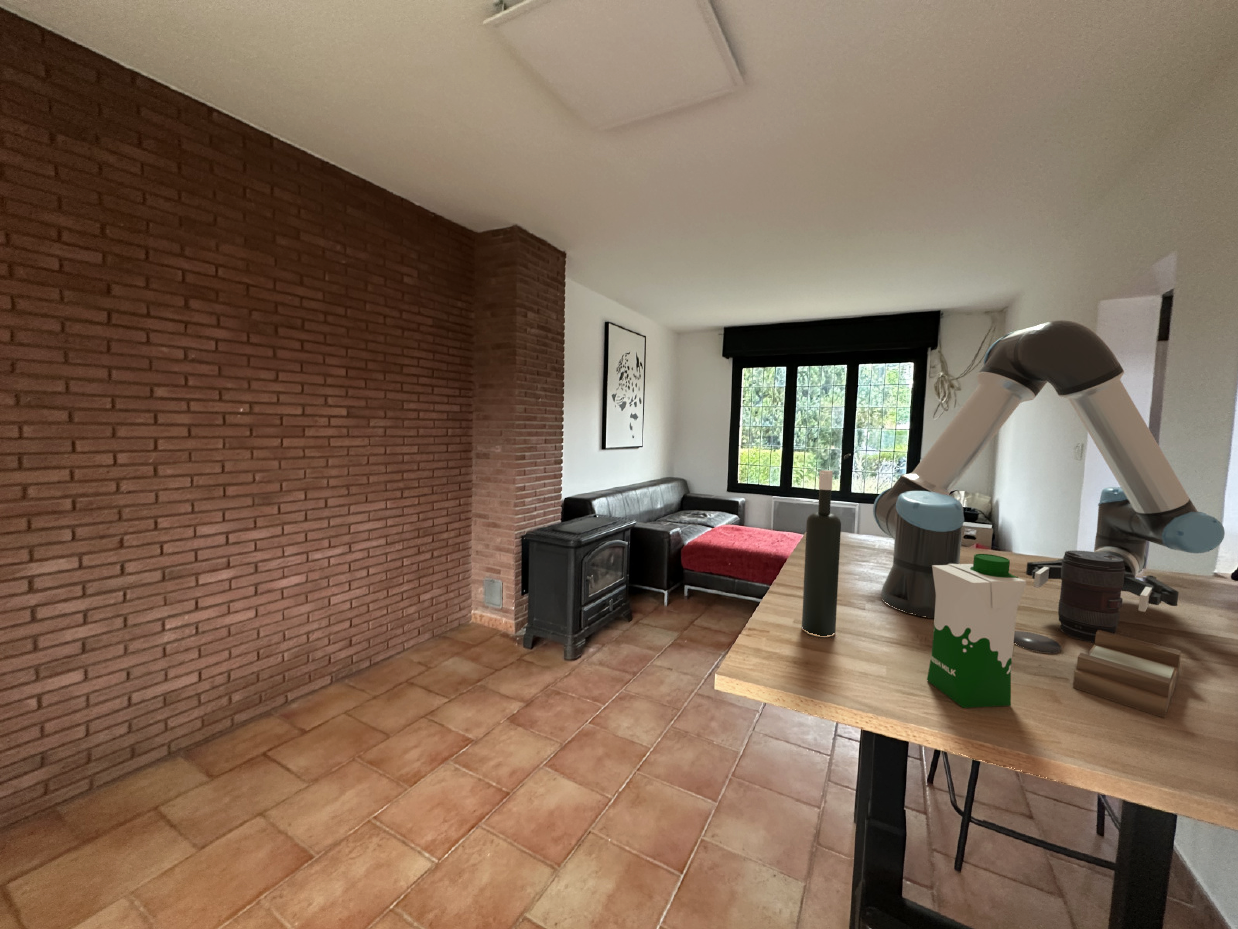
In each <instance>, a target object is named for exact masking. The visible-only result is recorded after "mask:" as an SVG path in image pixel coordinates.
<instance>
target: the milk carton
mask: <svg viewBox="0 0 1238 929" xmlns="http://www.w3.org/2000/svg"><path fill="white" fill-rule="evenodd" d="M1010 563H1011V560H1010V559H1009V558H1007V557H1004V556H1000V555H996V554H991V553H990V554H989V553H977V554H976V553H975V554H974V555H973V563H959V564H948V565H932V569H933V576H934V584H935V592H936V603H935V617H934V619H933V620H934V621H933V633H932V647H931V655H930V660H929V661H930V662H929V667H928V672H927V677H926V680H928V683H930V684H931V685H933V686H934V687H935V688H937V689H938V690H939V691H941V692H942V693H943V694H944V695H945V696H947V697H948V698H950V699H951V700H952V701H953V702H954V703H957V704H958V705H959V706H960V707H961V708H963V709H968V708H969V709H971V708H987V707H991V708H992V707H1006V706H1007V707H1008V706H1012V675H1011V674H1012V664H1013V662H1012V661H1013V652H1014V651H1013V650H1014V632H1015V631H1016V620H1017V619H1016V618H1017V611H1018V608H1019V604H1020V602H1021V599H1022V596H1023V593H1024V590H1025V587H1026V586H1027V585H1026V584H1027V580H1025V579H1023V578H1019V577H1018V576H1016V575H1013V574H1012V573H1011V572H1010V565H1011V564H1010Z"/></svg>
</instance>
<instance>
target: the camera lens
mask: <svg viewBox="0 0 1238 929" xmlns="http://www.w3.org/2000/svg"><path fill="white" fill-rule="evenodd" d="M1061 559H1062V569H1061V579H1060V580H1061V583H1060V592H1059V593H1060V594H1059V601H1058V606H1057V608H1058V611H1057V612H1058V621H1059V622H1060V631H1061V632H1063V633H1064V634H1065V635H1067V636H1069V637H1072V638H1075V639H1077V640H1080V641H1084V642H1087V643H1088V642H1090V643H1093V644H1095V637H1096V632H1097V631H1098V630H1102V631H1105V632H1109V633H1113V634H1117V629H1118V625H1119V622H1120V608H1121V607H1123V600H1124V599H1123V598H1122V597H1121V595H1122V591H1121V590H1122V588H1123V584H1124V574H1125V567H1124V560H1123V559H1122V558H1119V557H1117V556H1113V555H1109V554H1104V553H1097V552H1094V551H1091V550H1090V551H1087V550H1066V551H1064V556H1063V558H1061Z"/></svg>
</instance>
